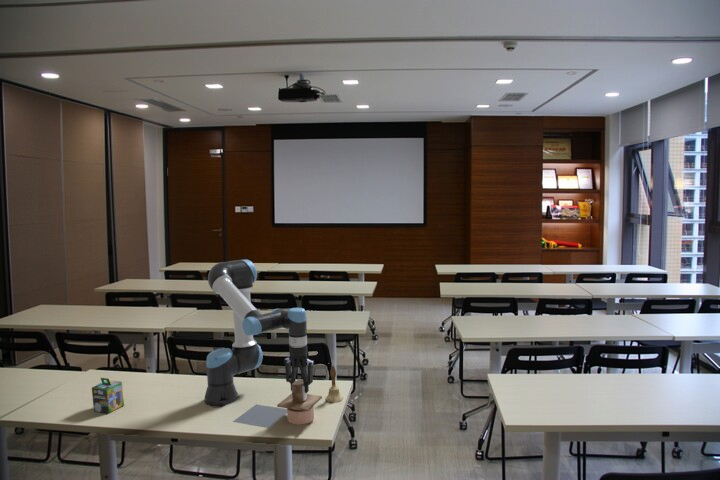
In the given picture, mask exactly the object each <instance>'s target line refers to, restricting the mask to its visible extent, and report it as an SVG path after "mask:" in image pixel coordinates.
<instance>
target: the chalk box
mask: <svg viewBox="0 0 720 480" xmlns="http://www.w3.org/2000/svg"><path fill="white" fill-rule="evenodd" d="M100 380H101V383H97V384H96V385H94V386H92V387H91V395H92V403H93V404H92V405H93V406H92V407H93V411H94V412H97V413H103V414H108V413H109V414H111V413H112V412H114V411H116V410H118V409H119V408H122V407H123V406H125V401H124V391H123V390H124V389H123V382H122V381H119V380H110V379H109V378H107V377H100Z"/></svg>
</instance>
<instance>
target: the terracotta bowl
mask: <svg viewBox="0 0 720 480" xmlns="http://www.w3.org/2000/svg"><path fill="white" fill-rule="evenodd" d="M286 409H287V414H286V418H287V422H288V423H290V424H293V425H298V426H299V425H305V424H310V423H312V422H313V420H314V419H315V416H314V415H315V413H314V412H315V411H314V406H313V407H312V408H310V409H309V410H308V411H301V410H295V409H288V408H286Z"/></svg>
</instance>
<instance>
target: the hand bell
mask: <svg viewBox="0 0 720 480" xmlns="http://www.w3.org/2000/svg"><path fill="white" fill-rule="evenodd" d="M336 375H337V370H336V367H335V365H331V366H330V378H331V386H329V389H328V394H327V396H325V399H324V400H325V401H326V402H328V403H333V404H334V403H339V402H342V401H343V400H344V397H343V396H342V395H341V392H340V388H339V386H337V385H336Z"/></svg>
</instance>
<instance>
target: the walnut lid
mask: <svg viewBox="0 0 720 480" xmlns="http://www.w3.org/2000/svg"><path fill="white" fill-rule="evenodd" d="M303 385H304V383H303V379H301V378H297V380H295V382H294V383H293V384H292V391H291V393H290V394H289V395H288V396H287V397H286V398H284V399H283V400H281V402H279V403H278V404H276V405H277V406H276V408H283V409H287V408H288V409H295V410H301V411H308V410H309V409H310V408H312V407H313V408H314V406H315V405H316V404H317V403H318V402H319V401H320V400H321V399H323V395H315V394H310V393H309V394H308V393H307V399H306V400H305V401H303V393H302V386H303Z"/></svg>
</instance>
